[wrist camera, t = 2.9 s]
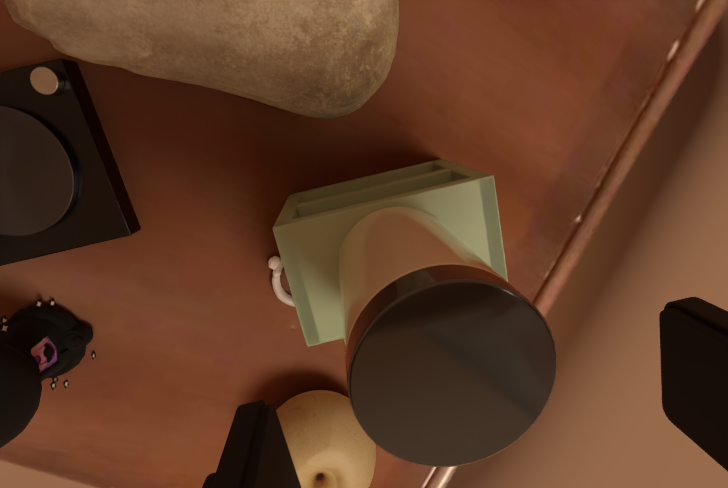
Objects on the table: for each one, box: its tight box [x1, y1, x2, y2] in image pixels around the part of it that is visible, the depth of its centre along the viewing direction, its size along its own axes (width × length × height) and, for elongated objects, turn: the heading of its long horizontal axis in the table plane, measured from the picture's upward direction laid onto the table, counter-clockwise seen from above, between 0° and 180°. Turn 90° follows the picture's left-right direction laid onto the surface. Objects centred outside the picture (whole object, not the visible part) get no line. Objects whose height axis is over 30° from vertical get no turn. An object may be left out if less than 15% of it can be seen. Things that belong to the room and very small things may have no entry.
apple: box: [276, 390, 376, 488], centre depth 29 cm, size 8×8×8 cm
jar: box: [338, 206, 557, 467], centre depth 15 cm, size 5×5×9 cm
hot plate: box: [0, 59, 141, 266], centre depth 25 cm, size 10×10×2 cm
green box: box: [272, 159, 508, 346], centre depth 24 cm, size 6×10×9 cm, turn 103°
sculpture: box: [3, 0, 399, 119], centre depth 21 cm, size 9×17×10 cm
